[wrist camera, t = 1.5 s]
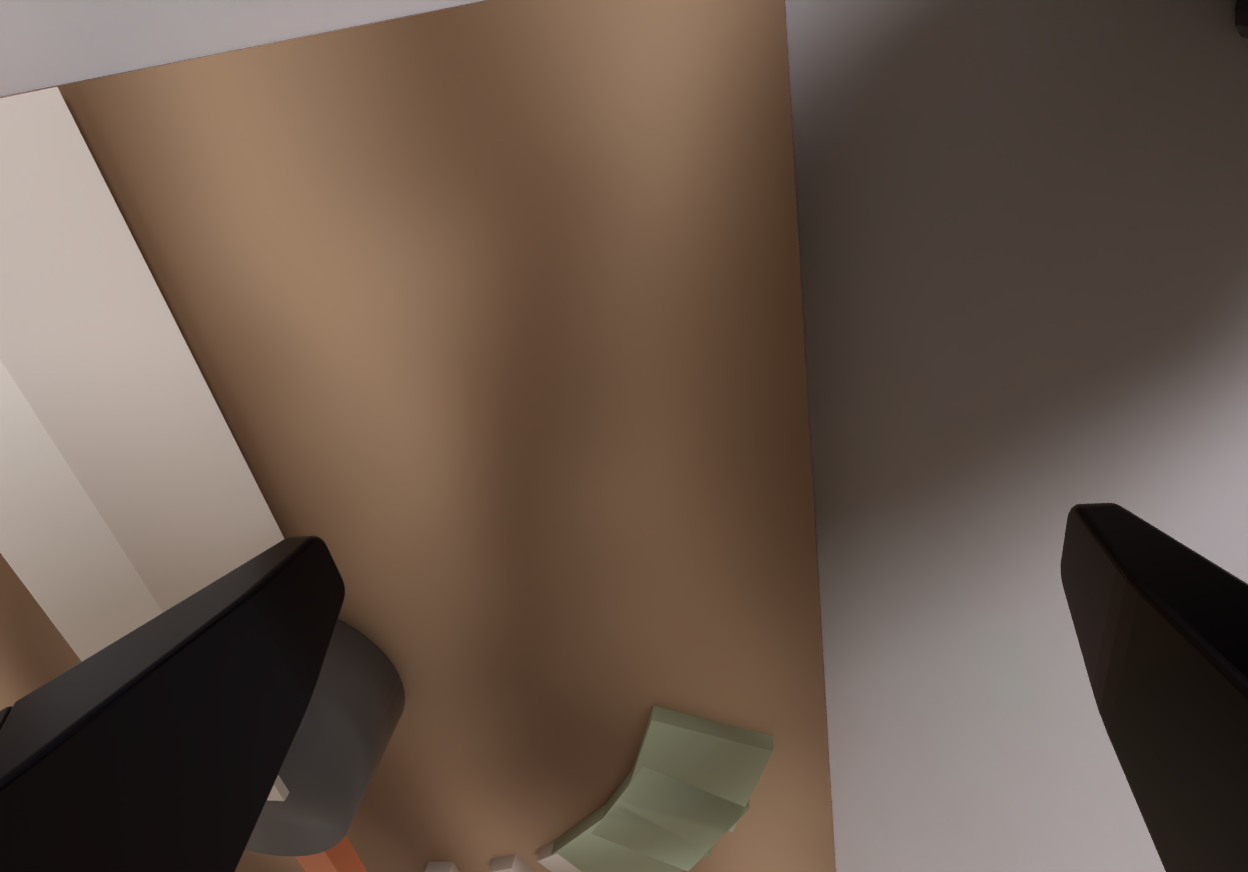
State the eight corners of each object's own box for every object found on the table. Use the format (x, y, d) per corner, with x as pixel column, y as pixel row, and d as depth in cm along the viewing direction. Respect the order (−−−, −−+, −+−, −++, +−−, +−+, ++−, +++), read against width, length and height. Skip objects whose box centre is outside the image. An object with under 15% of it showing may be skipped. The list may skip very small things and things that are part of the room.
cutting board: (780, -59, 11) (782, -58, 9) (837, 912, 24) (841, 970, 22) (-418, 180, 16) (-525, 201, 15) (160, 869, 29) (131, 914, 27)
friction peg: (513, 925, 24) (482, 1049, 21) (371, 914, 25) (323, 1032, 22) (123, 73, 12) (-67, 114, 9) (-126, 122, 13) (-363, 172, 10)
